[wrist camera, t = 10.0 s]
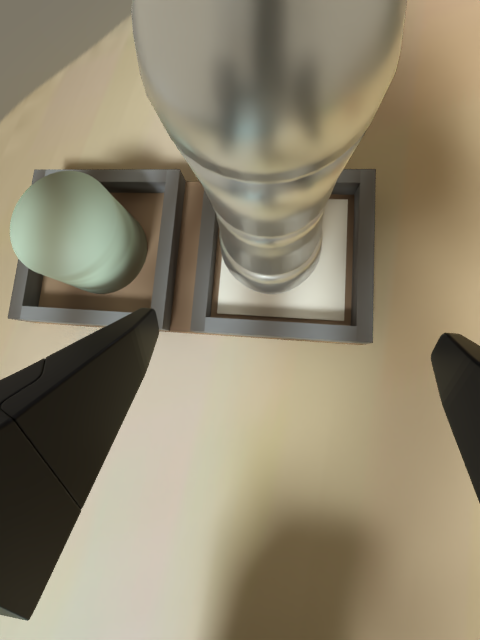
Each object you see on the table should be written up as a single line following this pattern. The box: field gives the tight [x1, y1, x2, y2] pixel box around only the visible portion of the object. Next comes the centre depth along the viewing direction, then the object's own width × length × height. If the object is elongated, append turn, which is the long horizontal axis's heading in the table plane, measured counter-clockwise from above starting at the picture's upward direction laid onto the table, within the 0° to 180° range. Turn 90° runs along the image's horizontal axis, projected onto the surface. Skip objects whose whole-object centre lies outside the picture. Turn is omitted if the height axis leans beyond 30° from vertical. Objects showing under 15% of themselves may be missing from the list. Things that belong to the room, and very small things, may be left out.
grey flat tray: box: [8, 169, 376, 345], centre depth 21 cm, size 26×12×6 cm, turn 86°
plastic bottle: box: [131, 0, 407, 294], centre depth 12 cm, size 6×7×20 cm
